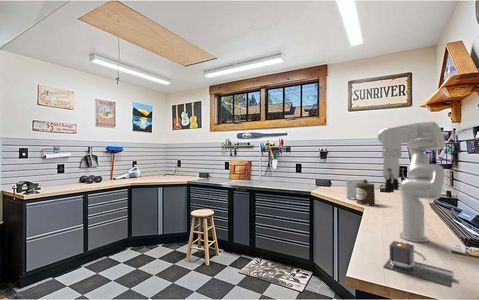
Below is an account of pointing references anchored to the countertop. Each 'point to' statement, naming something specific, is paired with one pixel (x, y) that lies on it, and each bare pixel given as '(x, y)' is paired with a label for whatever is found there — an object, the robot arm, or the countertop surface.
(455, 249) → the countertop surface
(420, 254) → the pliers
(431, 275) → the lever switch plate
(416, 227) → the robot arm
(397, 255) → the socket
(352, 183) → the hard drive box
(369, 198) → the wooden container
